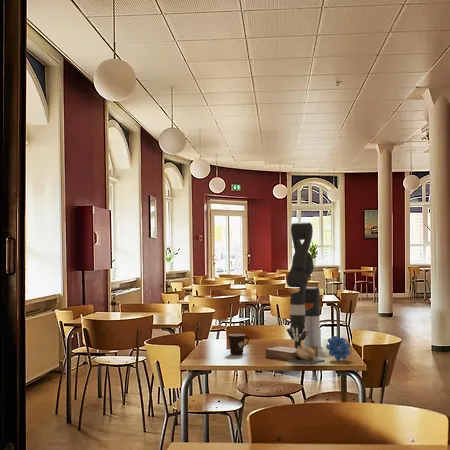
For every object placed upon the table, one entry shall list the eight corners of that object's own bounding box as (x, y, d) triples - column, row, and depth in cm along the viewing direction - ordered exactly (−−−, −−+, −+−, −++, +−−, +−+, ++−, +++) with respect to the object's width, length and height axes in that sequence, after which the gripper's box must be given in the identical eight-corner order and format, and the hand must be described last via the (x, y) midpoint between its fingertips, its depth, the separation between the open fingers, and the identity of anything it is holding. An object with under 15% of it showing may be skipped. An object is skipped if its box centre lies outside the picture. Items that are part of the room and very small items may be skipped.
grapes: (326, 361, 306) (326, 336, 307) (326, 359, 313) (326, 334, 313) (351, 361, 305) (350, 336, 305) (350, 359, 311) (349, 335, 312)
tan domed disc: (305, 349, 315) (307, 344, 314) (317, 359, 308) (318, 354, 307) (292, 350, 310) (293, 345, 309) (303, 360, 303) (305, 355, 302)
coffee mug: (230, 356, 323) (230, 336, 324) (226, 353, 332) (226, 334, 332) (252, 355, 326) (252, 335, 326) (248, 352, 334) (248, 333, 335)
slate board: (307, 358, 314) (307, 357, 314) (324, 361, 306) (324, 359, 306) (290, 361, 305) (290, 360, 306) (307, 364, 298) (307, 363, 298)
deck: (281, 354, 329) (281, 346, 329) (308, 358, 315) (308, 350, 315) (265, 356, 320) (265, 348, 321) (292, 361, 307) (292, 353, 307)
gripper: (312, 314, 311) (313, 349, 310) (292, 312, 321) (292, 346, 320) (302, 315, 306) (303, 351, 305) (282, 313, 316) (282, 348, 315)
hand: (297, 348), depth 313 cm, fingers closed
